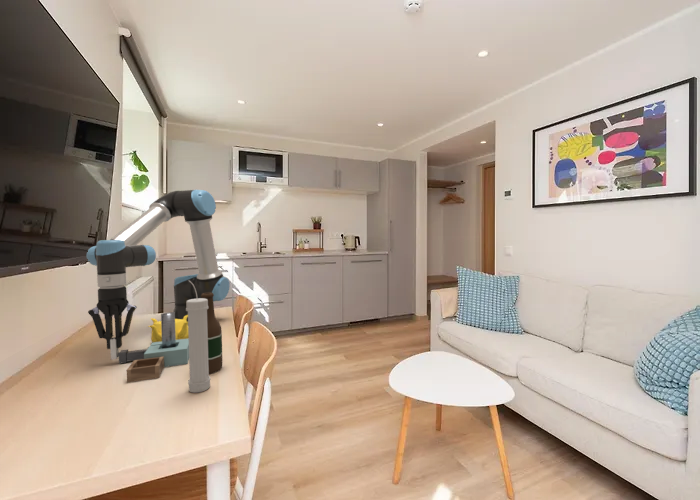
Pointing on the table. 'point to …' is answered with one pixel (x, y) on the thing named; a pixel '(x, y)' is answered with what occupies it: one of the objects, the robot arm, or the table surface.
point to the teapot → (180, 329)
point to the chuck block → (170, 352)
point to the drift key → (131, 355)
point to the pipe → (198, 344)
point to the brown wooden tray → (145, 369)
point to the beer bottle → (213, 336)
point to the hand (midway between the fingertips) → (114, 357)
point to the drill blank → (168, 330)
